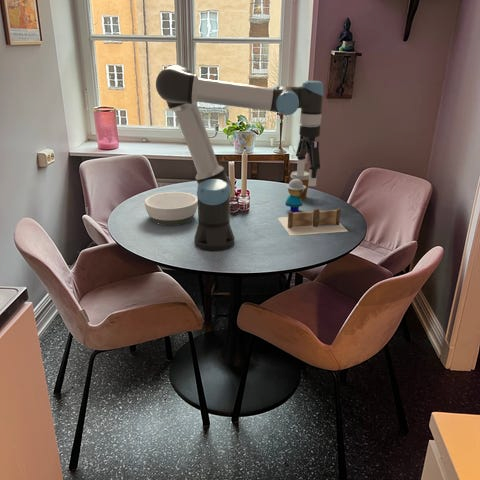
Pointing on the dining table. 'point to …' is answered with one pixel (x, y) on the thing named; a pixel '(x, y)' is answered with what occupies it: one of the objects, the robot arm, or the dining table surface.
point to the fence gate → (299, 219)
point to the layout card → (311, 228)
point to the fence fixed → (326, 217)
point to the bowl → (171, 207)
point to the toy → (295, 194)
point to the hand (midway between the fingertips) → (306, 180)
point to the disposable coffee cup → (304, 180)
